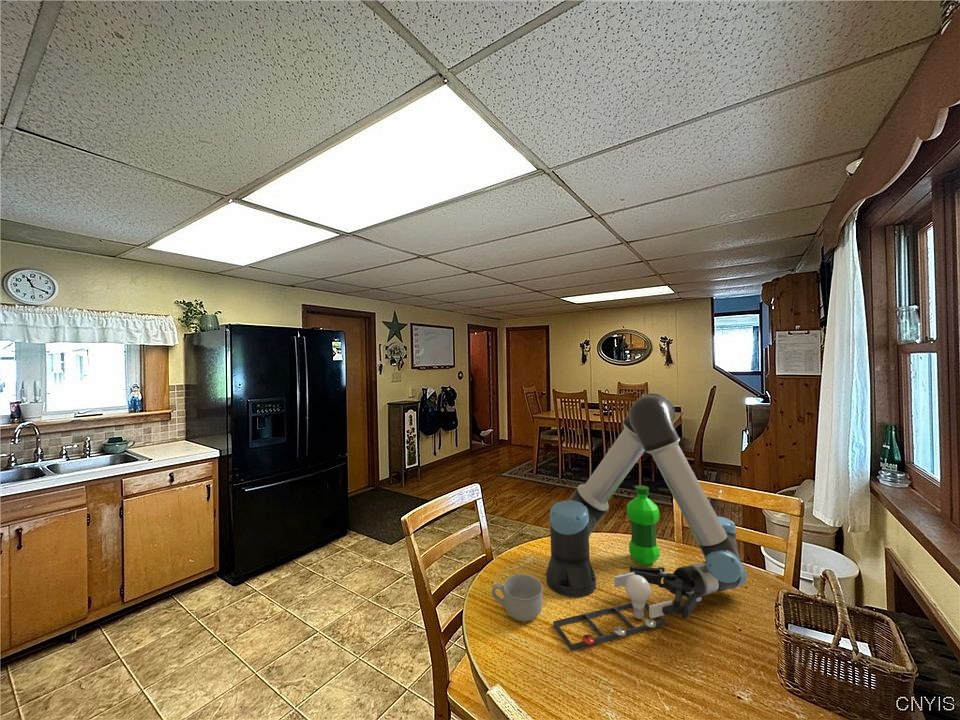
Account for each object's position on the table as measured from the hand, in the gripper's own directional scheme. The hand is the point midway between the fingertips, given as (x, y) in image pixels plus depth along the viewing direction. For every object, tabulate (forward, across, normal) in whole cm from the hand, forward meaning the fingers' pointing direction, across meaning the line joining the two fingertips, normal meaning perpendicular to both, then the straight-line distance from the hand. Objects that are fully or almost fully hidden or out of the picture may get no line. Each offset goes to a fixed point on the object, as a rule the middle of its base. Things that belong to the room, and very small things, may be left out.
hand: (631, 595), depth 99 cm
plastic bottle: (-24, +23, -7) cm, 34 cm away
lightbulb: (-2, 0, -7) cm, 7 cm away
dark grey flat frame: (+7, 0, -6) cm, 9 cm away
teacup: (+27, +12, -7) cm, 31 cm away
